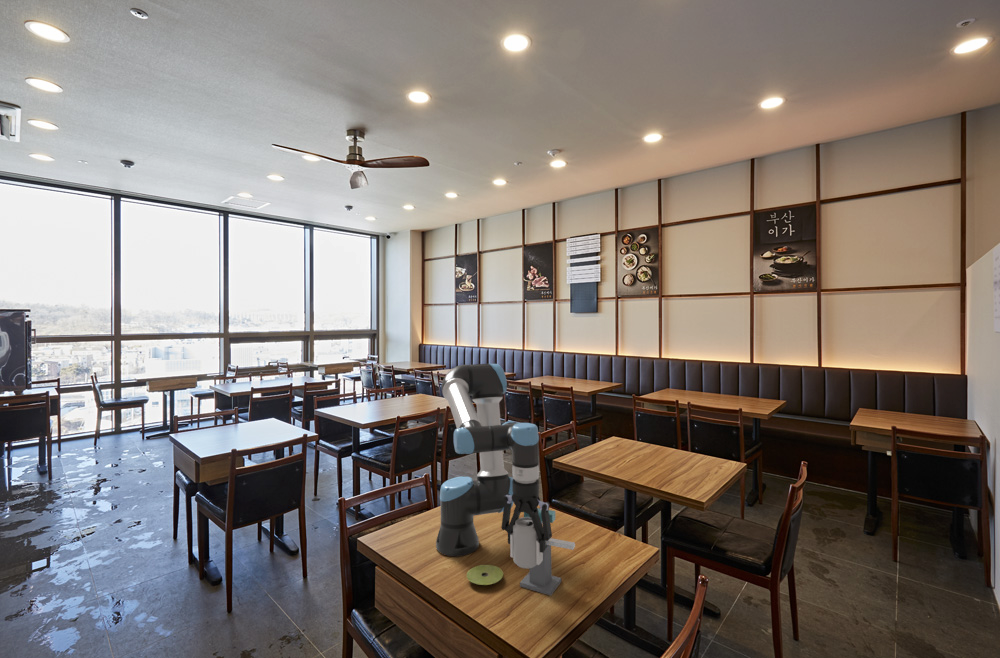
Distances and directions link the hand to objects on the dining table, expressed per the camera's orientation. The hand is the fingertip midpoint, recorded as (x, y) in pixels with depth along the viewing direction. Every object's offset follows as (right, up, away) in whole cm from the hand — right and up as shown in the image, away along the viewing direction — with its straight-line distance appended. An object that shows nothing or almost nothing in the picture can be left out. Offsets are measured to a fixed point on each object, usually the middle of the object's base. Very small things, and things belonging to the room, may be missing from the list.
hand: (526, 558), depth 128 cm
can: (0, -1, 0) cm, 1 cm away
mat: (-12, -12, +10) cm, 20 cm away
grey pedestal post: (+5, -12, +7) cm, 15 cm away
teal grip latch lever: (+7, +1, +6) cm, 10 cm away
